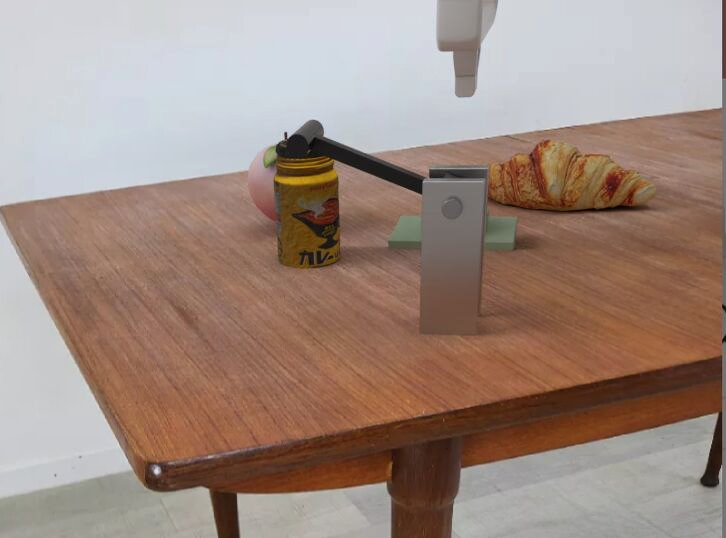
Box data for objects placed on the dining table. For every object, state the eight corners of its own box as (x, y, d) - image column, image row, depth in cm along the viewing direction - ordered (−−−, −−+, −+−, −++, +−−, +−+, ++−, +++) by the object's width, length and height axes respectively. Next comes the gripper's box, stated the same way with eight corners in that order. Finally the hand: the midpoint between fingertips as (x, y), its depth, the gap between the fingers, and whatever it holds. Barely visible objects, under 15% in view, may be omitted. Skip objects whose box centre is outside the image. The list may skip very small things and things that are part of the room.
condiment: (337, 285, 88) (333, 149, 82) (250, 283, 90) (239, 149, 83) (351, 261, 94) (348, 132, 87) (269, 260, 96) (260, 133, 89)
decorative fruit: (270, 215, 110) (264, 122, 104) (336, 218, 107) (333, 123, 102) (237, 238, 103) (229, 140, 97) (307, 242, 100) (303, 141, 95)
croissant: (651, 233, 108) (666, 160, 107) (648, 210, 99) (665, 131, 97) (470, 217, 115) (483, 149, 114) (452, 196, 106) (466, 121, 105)
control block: (515, 238, 98) (519, 198, 96) (511, 265, 91) (515, 222, 88) (400, 236, 100) (401, 197, 98) (388, 263, 93) (388, 221, 91)
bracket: (380, 357, 74) (380, 186, 67) (395, 320, 80) (396, 161, 73) (510, 362, 72) (524, 186, 65) (515, 324, 78) (528, 160, 71)
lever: (281, 159, 68) (291, 125, 67) (298, 143, 73) (307, 111, 71) (463, 231, 68) (476, 199, 67) (469, 211, 73) (482, 180, 71)
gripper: (503, -88, 70) (493, 114, 78) (515, -91, 87) (506, 77, 94) (418, -81, 72) (417, 116, 80) (446, -86, 88) (443, 79, 96)
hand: (465, 94), depth 87 cm, fingers closed
